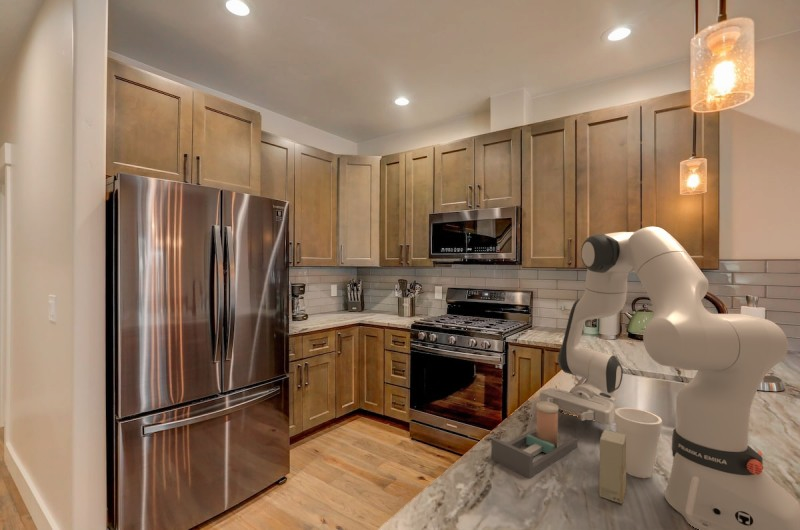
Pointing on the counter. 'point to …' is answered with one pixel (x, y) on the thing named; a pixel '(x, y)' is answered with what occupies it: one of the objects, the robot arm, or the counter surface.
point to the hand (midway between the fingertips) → (562, 411)
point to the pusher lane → (527, 455)
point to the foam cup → (639, 439)
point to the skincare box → (612, 466)
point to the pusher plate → (537, 445)
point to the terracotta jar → (547, 422)
